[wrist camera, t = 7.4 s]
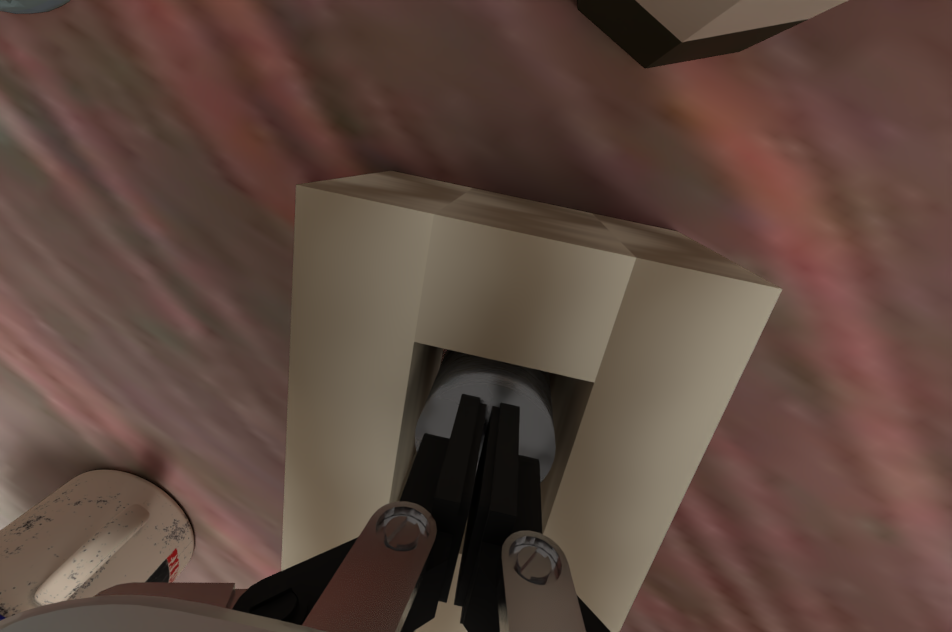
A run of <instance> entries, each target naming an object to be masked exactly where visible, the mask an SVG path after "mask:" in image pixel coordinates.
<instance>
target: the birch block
mask: <svg viewBox="0 0 952 632" xmlns="http://www.w3.org/2000/svg"><path fill="white" fill-rule="evenodd" d="M781 291H782V289H781V288H779V287H778V286H776V285H774V284H772V283H770V282H769V281H767V280H765V279H763V278H761V277H759V276H758V275H756V274H754V273H752V272H750V271H748V270H747V269H745V268H743V267H741V266H739V265H738V264H736V263H734V262H732V261H730V260H728V259H727V258H725V257H723V256H721V255H719V254H718V253H716V252H714V251H712V250H710V249H708V248H707V247H705V246H703V245H701V244H699V243H698V242H696V241H694V240H692V239H690V238H688V237H687V236H685V235H683V234H681V233H679V232H677V231H673V230H669V229H664V228H659V227H655V226H650V225H645V224H640V223H636V222H631V221H626V220H622V219H617V218H612V217H607V216H603V215H598V214H593V213H588V212H584V211H579V210H574V209H570V208H565V207H560V206H555V205H551V204H546V203H541V202H537V201H532V200H527V199H522V198H518V197H513V196H508V195H504V194H499V193H494V192H489V191H485V190H480V189H475V188H471V187H466V186H461V185H456V184H452V183H447V182H442V181H437V180H433V179H428V178H423V177H419V176H414V175H409V174H404V173H400V172H395V171H385V172H378V173H372V174H365V175H358V176H351V177H344V178H338V179H331V180H324V181H317V182H311V183H304V184H297V185H296V200H295V226H294V252H293V278H292V304H291V330H290V356H289V382H288V408H287V433H286V459H285V485H284V511H283V537H282V563H281V571H283V570H285V569H287V568H290V567H292V566H294V565H296V564H299V563H301V562H303V561H305V560H308V559H310V558H312V557H314V556H317V555H319V554H321V553H323V552H326V551H328V550H330V549H332V548H335V547H337V546H339V545H341V544H344V543H346V542H348V541H350V540H353V539H355V538H357V537H359V535H360V534H361V532H362V531H363V529H364V527H365V526H366V524H367V523H368V521H369V520H370V518H371V517H372V515H373V514H374V513H375V512H376V511H377V510H378V509H379V508H381V507H382V506H384V505H386V504H389V503H392V502H396V501H400V498H401V495H402V493H403V490H404V487H405V484H406V482H407V479H408V476H409V473H410V471H411V468H412V465H413V462H414V460H415V457H416V454H417V451H416V446H415V429H416V425H417V422H418V419H419V417H420V415H421V412H422V410H423V407H424V405H425V402H426V400H427V398H428V395H429V393H430V390H431V388H432V385H433V383H434V381H435V378H436V376H437V373H438V371H439V368H440V365H441V360H442V354H443V349H448V350H453V351H457V352H462V353H466V354H470V355H475V356H479V357H484V358H488V359H492V360H497V361H501V362H506V363H510V364H515V365H519V366H523V367H528V368H532V369H537V370H541V371H546V372H549V377H550V388H551V399H552V411H553V422H554V433H555V445H556V449H555V457H554V462H553V464H552V467H551V469H550V471H549V472H548V474H547V476H546V477H545V478H544V479H543V481H542V482H541V510H542V534H543V535H545V536H547V537H549V538H550V539H552V540H553V541H554V542H555V543H556V544H558V546H559V547H560V548H561V550H562V551H563V552H564V553H565V556H566V558H567V561H568V563H569V567H570V571H571V575H572V579H573V583H574V587H575V591H576V594H577V595H578V597H579V598H580V599H581V600H582V601H583V602H584V603H585V604H586V605H587V606H588V607H589V609H590V610H591V611H592V612H593V613H594V614H595V615H596V616H597V617H598V618H599V619H600V620H601V622H602V623H603V624H604V625H605V626H606V627H607V628H608V629H609V630H610V631H611V632H619V631H620V629H621V627H622V625H623V623H624V621H625V619H626V617H627V614H628V612H629V610H630V608H631V606H632V604H633V602H634V600H635V598H636V596H637V593H638V591H639V589H640V587H641V585H642V583H643V581H644V579H645V577H646V575H647V572H648V570H649V568H650V566H651V564H652V562H653V560H654V558H655V556H656V554H657V551H658V549H659V547H660V545H661V543H662V541H663V539H664V537H665V535H666V533H667V530H668V528H669V526H670V524H671V522H672V520H673V518H674V516H675V514H676V512H677V509H678V507H679V505H680V503H681V501H682V499H683V497H684V495H685V493H686V491H687V488H688V486H689V484H690V482H691V480H692V478H693V476H694V474H695V472H696V470H697V467H698V465H699V463H700V461H701V459H702V457H703V455H704V453H705V451H706V449H707V446H708V444H709V442H710V440H711V438H712V436H713V434H714V432H715V430H716V428H717V425H718V423H719V421H720V419H721V417H722V415H723V413H724V411H725V409H726V407H727V404H728V402H729V400H730V398H731V396H732V394H733V392H734V390H735V388H736V385H737V383H738V381H739V379H740V377H741V375H742V373H743V371H744V369H745V367H746V364H747V362H748V360H749V358H750V356H751V354H752V352H753V350H754V348H755V346H756V343H757V341H758V339H759V337H760V335H761V333H762V331H763V329H764V327H765V325H766V322H767V320H768V318H769V316H770V314H771V312H772V310H773V308H774V306H775V304H776V301H777V299H778V297H779V295H780V293H781ZM467 519H468V518H467ZM466 525H467V522H466ZM465 531H466V526H465V530H464V534H463V538H462V543H461V547H460V551H459V555H458V559H457V563H456V567H455V571H454V575H453V579H452V583H451V587H450V591H449V595H448V600H447V603H444V602H440V601H438V605H437V610H436V614H435V618H433V619H432V620H430V621H429V622H427V623H426V624H424V625H423V626H421V627H419V628H418V629H416V631H415V632H468V631H467V630H466V629H465V627H464V626H463V624H461V623H460V618H461V611H462V607H461V606H457V605H454V599H455V593H456V587H457V581H458V574H459V568H460V562H461V556H462V550H463V544H464V538H465Z"/></svg>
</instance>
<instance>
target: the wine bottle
mask: <svg viewBox="0 0 952 632" xmlns="http://www.w3.org/2000/svg"><path fill="white" fill-rule="evenodd" d="M846 1H848V0H577V5H578V10H579V11H580V12H582V13H583V14H584V15H585V16H586V17H587V18H588V19H589V20H591V21H592V22H593V23H594V24H595V25H596V26H597V27H599V28H600V29H601V30H602V31H603V32H604V33H605V34H607V35H608V36H609V37H610V38H611V39H612V40H613V41H614V42H616V43H617V44H618V45H619V46H620V47H621V48H622V49H624V50H625V51H626V52H627V53H628V54H629V55H630V56H631V57H633V58H634V59H635V60H636V61H637V62H638V63H639V64H641V65H642V66H643V67H644V68H650V67H656V66H662V65H667V64H673V63H679V62H684V61H690V60H696V59H701V58H707V57H712V56H718V55H724V54H729V53H735V52H740V51H742V50H744V49H746V48H748V47H750V46H753V45H755V44H757V43H759V42H761V41H763V40H765V39H767V38H770V37H772V36H774V35H776V34H778V33H780V32H782V31H784V30H786V29H789V28H791V27H793V26H795V25H797V24H799V23H801V22H803V21H806V20H808V19H810V18H812V17H814V16H816V15H818V14H820V13H823V12H825V11H827V10H829V9H831V8H833V7H835V6H837V5H840V4H842V3H844V2H846Z"/></svg>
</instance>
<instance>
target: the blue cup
mask: <svg viewBox="0 0 952 632" xmlns="http://www.w3.org/2000/svg"><path fill="white" fill-rule="evenodd" d="M69 1H70V0H0V11H5V12H10V13H15V14H24V13H39V12H48V11H50V10H53V9H55V8H58V7H60V6H62V5H64V4H66V3H67V2H69Z"/></svg>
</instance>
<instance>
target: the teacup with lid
mask: <svg viewBox="0 0 952 632" xmlns="http://www.w3.org/2000/svg"><path fill="white" fill-rule="evenodd" d="M193 550H194V535H193V531H192V528H191V525H190V523H189V520H188V519H187V517H186V515H185V514H184V512H183V511H182V509H181V508H180V507H179V505H178V504H177V503H176V502H175V501H174V500H173V499H172V498H171V497H170V496H169V495H168V494H166V493H165V492H164V491H163V490H161V489H160V488H159V487H157V486H156V485H154V484H152V483H151V482H149V481H147V480H145V479H143V478H140V477H138V476H135V475H133V474H130V473H126V472H122V471H117V470H93V471H89V472H85V473H83V474H80V475H78V476H76V477H75V478H73V479H72V480H70V481H69V482H67V483H66V484H65V485H63V486H62V487H60V488H59V489H58V490H56V491H55V492H53V493H52V494H51V495H49V496H48V497H47V498H45V499H44V500H42V501H41V502H40V503H38V504H37V505H35V506H34V507H33V508H31V509H30V510H28V511H27V512H26V513H24V514H23V515H21V516H20V517H19V518H17V519H16V520H15V521H13V522H12V523H10V524H9V525H8V526H6V527H5V528H3V529H2V530H1V531H0V621H1V620H3V619H5V618H8V617H10V616H13V615H15V614H18V613H20V612H23V611H26V610H29V609H33V608H36V607H40V606H43V605H47V604H52V603H56V602H61V601H66V600H73V599H81V598H88V597H93V596H95V595H96V594H98V593H99V592H101V591H103V590H105V589H108V588H110V587H113V586H115V585H118V584H125V583H132V582H158V583H172V582H173V581H174V580H175V579H176V578H177V576H178V575H179V574H180V573H181V571H182V570H183V569H184V568H185V567H186V565H187V564H188V562H189V561H190V559H191V556H192V554H193Z"/></svg>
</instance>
